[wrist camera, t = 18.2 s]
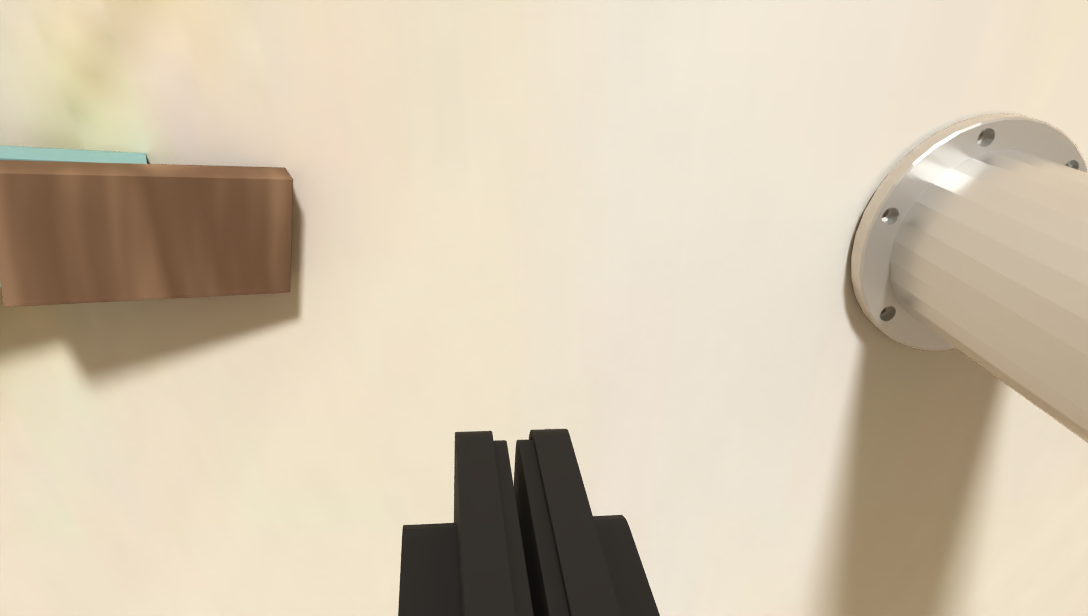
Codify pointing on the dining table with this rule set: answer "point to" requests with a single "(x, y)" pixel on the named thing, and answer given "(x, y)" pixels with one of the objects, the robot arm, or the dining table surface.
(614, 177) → the dining table surface
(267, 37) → the dining table surface
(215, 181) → the domino
